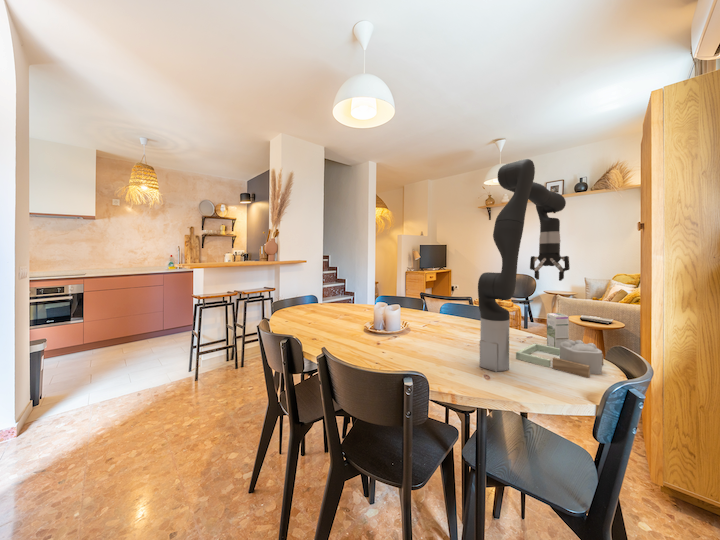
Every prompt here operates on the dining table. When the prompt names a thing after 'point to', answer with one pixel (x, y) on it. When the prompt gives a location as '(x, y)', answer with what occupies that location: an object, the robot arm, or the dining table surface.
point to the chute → (572, 367)
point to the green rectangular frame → (532, 348)
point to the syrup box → (557, 329)
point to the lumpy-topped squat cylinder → (582, 354)
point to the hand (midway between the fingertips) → (548, 280)
